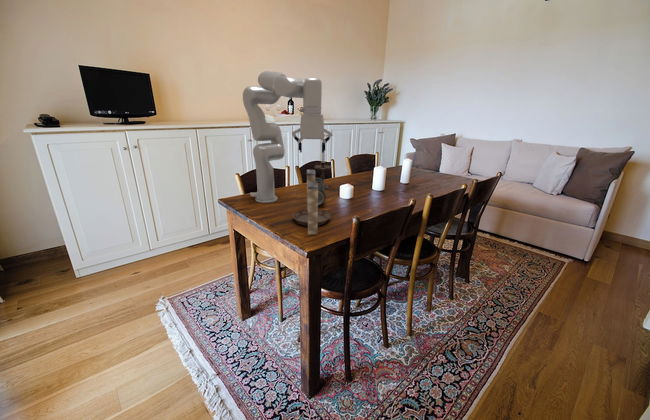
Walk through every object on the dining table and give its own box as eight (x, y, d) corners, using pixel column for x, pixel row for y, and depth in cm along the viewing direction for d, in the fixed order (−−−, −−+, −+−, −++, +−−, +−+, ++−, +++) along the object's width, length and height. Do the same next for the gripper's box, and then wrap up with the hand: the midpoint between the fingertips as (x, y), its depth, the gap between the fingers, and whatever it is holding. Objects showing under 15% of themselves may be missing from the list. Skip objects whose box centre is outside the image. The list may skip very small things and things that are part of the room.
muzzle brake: (324, 192, 177) (325, 176, 173) (325, 208, 151) (325, 189, 147) (309, 192, 177) (309, 176, 173) (307, 207, 150) (307, 189, 147)
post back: (307, 214, 141) (307, 173, 134) (306, 208, 149) (306, 169, 142) (315, 214, 141) (315, 173, 134) (314, 208, 149) (314, 169, 142)
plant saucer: (302, 212, 145) (302, 206, 144) (335, 217, 139) (335, 211, 138) (286, 224, 129) (286, 218, 128) (321, 231, 123) (321, 224, 122)
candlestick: (329, 185, 193) (331, 133, 180) (331, 190, 183) (333, 134, 170) (314, 185, 192) (314, 132, 180) (314, 190, 182) (315, 134, 170)
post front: (307, 234, 119) (308, 187, 112) (307, 226, 127) (307, 181, 120) (317, 234, 120) (318, 187, 112) (316, 226, 127) (317, 181, 120)
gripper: (291, 110, 113) (291, 153, 119) (333, 111, 114) (332, 153, 120) (291, 110, 120) (292, 150, 126) (331, 111, 121) (330, 151, 127)
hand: (311, 152), depth 123 cm, fingers open, 9 cm apart
